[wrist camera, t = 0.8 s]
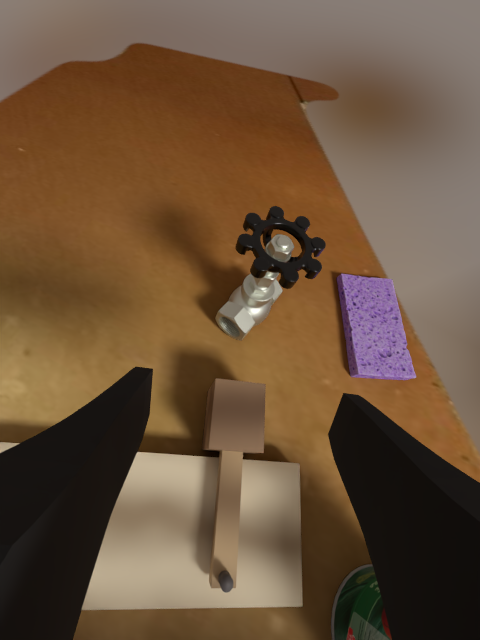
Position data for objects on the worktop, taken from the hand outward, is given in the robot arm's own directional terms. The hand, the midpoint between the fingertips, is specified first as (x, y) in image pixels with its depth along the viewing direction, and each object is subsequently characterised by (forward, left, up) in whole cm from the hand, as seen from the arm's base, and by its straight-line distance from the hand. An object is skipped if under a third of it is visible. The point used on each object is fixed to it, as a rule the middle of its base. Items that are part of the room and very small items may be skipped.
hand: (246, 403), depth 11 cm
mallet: (-3, -2, -17) cm, 17 cm away
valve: (+12, -3, -17) cm, 21 cm away
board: (-6, +5, -17) cm, 18 cm away
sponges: (+13, -18, -17) cm, 28 cm away
